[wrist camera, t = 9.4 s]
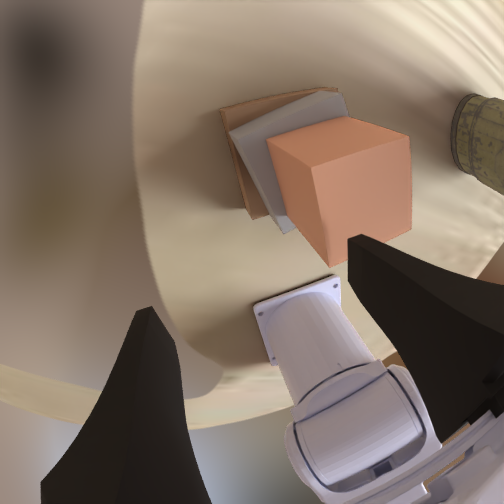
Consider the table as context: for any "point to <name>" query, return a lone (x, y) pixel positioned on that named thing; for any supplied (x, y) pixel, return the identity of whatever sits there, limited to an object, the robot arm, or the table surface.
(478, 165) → the stone statue
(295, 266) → the table surface
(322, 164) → the terracotta block
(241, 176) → the tower base
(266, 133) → the tower middle
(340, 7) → the table surface
